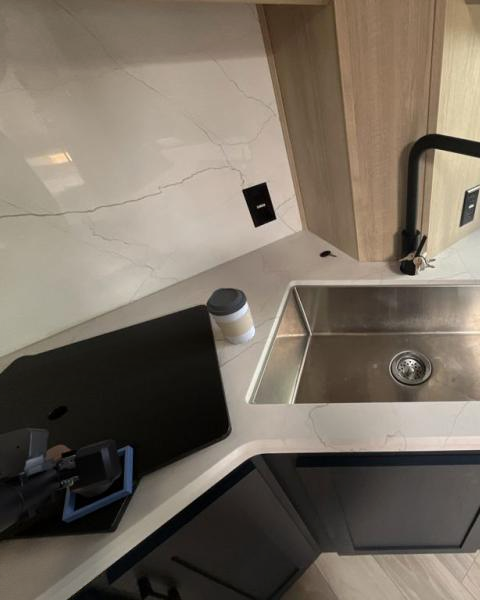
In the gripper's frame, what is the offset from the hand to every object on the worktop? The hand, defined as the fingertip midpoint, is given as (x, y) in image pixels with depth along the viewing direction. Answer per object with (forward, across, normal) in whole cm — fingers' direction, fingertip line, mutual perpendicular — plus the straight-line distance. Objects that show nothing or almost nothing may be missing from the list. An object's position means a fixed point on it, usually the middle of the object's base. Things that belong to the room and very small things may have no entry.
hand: (78, 459), depth 55 cm
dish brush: (+4, 0, +6) cm, 7 cm away
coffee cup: (+26, -25, -14) cm, 39 cm away
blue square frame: (+5, 0, +7) cm, 9 cm away
